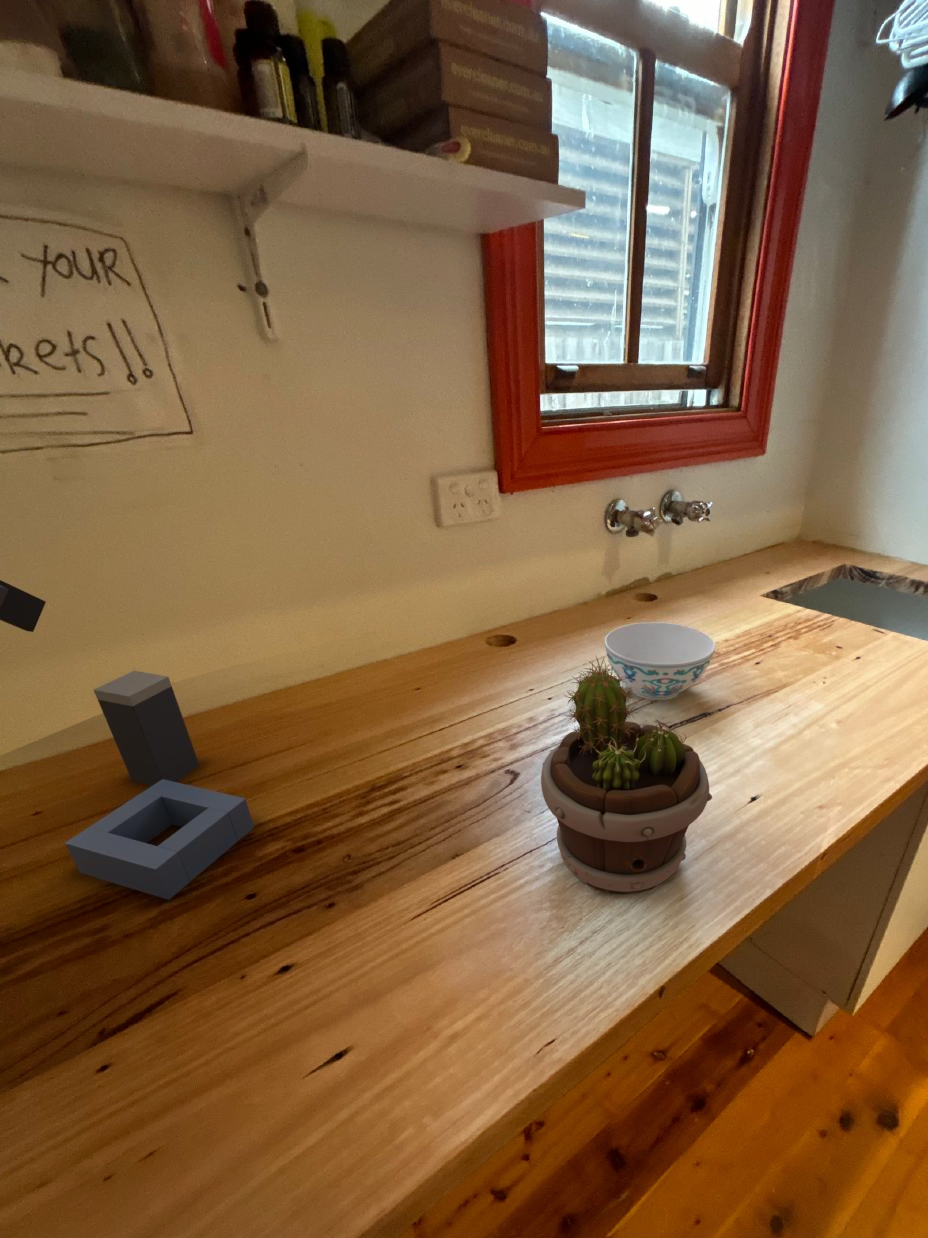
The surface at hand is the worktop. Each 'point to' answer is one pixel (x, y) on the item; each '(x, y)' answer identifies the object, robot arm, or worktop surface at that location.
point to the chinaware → (658, 657)
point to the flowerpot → (621, 791)
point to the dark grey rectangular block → (147, 727)
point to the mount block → (170, 866)
